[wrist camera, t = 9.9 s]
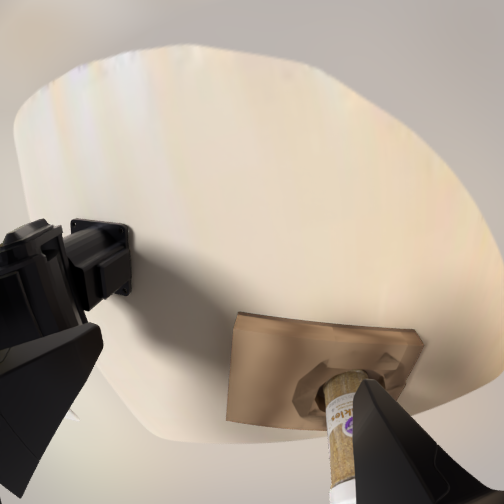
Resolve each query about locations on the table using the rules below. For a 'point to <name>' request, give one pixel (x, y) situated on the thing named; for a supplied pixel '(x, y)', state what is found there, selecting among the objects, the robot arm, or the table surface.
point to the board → (308, 367)
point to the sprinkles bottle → (341, 433)
